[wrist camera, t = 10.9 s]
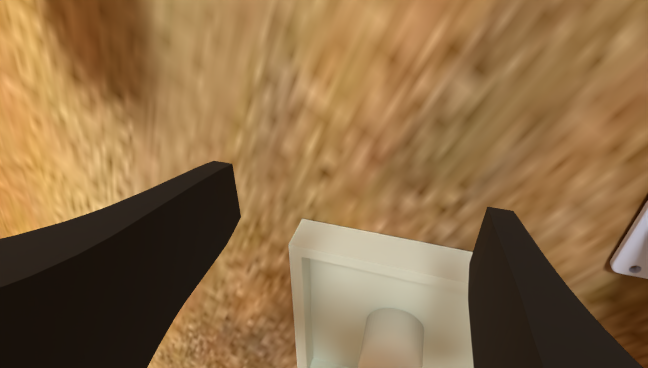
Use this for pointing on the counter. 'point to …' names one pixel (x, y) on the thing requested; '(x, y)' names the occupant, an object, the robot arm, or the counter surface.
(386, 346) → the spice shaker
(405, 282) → the tray
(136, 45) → the counter surface
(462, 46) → the counter surface
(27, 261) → the robot arm
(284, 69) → the counter surface
